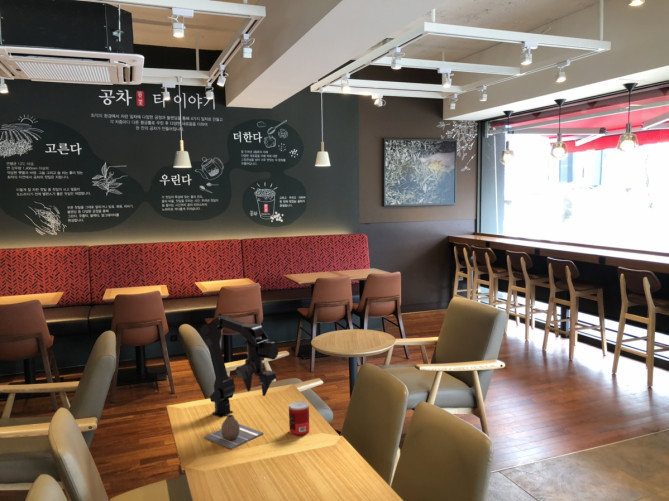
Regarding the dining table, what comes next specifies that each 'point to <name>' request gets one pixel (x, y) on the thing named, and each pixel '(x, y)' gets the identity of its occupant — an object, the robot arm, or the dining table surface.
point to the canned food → (299, 418)
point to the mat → (243, 437)
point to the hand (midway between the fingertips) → (256, 393)
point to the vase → (230, 428)
